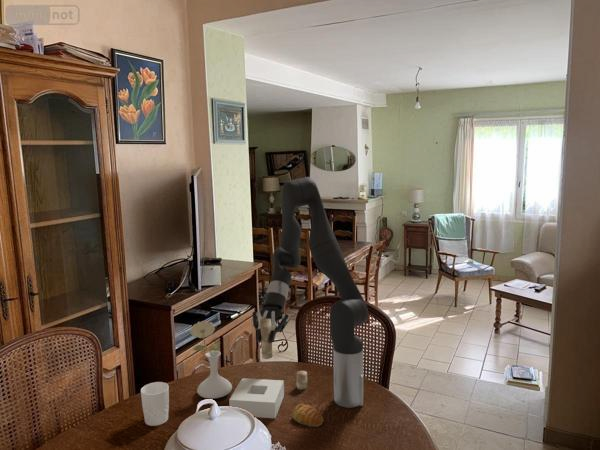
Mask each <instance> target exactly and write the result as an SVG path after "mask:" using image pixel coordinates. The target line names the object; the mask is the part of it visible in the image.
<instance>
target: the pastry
mask: <svg viewBox="0 0 600 450" xmlns="http://www.w3.org/2000/svg"><path fill="white" fill-rule="evenodd" d="M291 417H292V418H293V420H294V421H295V422H297V423H298V424H301V425H303V426H307V427H312V428H314V427H316V428H318V427H320V426H322V425H323V422H324V416H323V415H322V413H320V412H319V410H318V409H316V408H315V407H314V406H311V405H310V404H304V403H299V404H297V405H296V406H295V407H294V408H293V410H292V414H291Z"/></svg>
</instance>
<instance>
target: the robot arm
mask: <svg viewBox="0 0 600 450" xmlns="http://www.w3.org/2000/svg"><path fill="white" fill-rule="evenodd" d="M305 206H308V209H309V211H310V215H311V226H310V232H309V236H308V248H309V251H310V254H311V256H312V259H313V261H314V263H315V266H316V267H317V268H318V269H319V270H320V271H321V273H322V274H324V275H325V276H326V277H327V279H329V281H331V283H332V284H333V285H334V286H335V287H336V288H335V289H337V291H338V294H339V296H340V299H339V300H337V301H335V302H333V303H332V305H331V306H330V309H329V327H330V329H329V331H330V338H331V339H330V340H331V342H332V345H333V401H334V403H335V404H336V405H337V406H339V407H343V408H350V409H351V408H356V407H363V405H364V342H363V341H364V340H363V339H362V338H361V337H359V336H357V335H356V334H355V328H356V327H358V326H360V325H363V324H364V323H365V322H367V320H368V316H369V309H368V306H367V304H366V300H365V298H364V297H363V295H362V293H361V292H360V291H361V290H360V289H359V288H358V286H357V285H356V282H355V280H354V278H353V276H352V274H351V271H350V270H349V267H348V265H347V262H346V260H345V258H344V256H343V252H342V250H341V248H340V244H339V242H338V239H337V238H336V236H335V233H334V230H333V229H332V226H331V223H330V221H329V218H328V216H327V213H326V210H325V207H324V203H323V201H322V197H321V194H320V191H319V187H318V186H317V183H316V182H315V180H314V179H313V178H312V177H310V176H304V177H301V178H295V179H291V180H287V181H286V182H284V183H283V185H282V189H281V212H282V214H281V215H282V219H281V221H282V227H281V228H282V229H281V234H280V240H279V242H280V243H279V245H280V247H279V246H278V247H277V248H276V249H275V250H274V251H273V254H272V263H273V265H272V266H273V268H272V269H273V270H272V276H271V279H270V282H269V285H268V287H267V290H266V294H265V296H264V300H263V305H262V308H261V310H260V311H257V312H256V311H253V312H252V325H253V327H254V329H255V330H256V335H255V340H256V341H257V343H261V325H260V321H259V320H260V319H262V318H270V319H271V331H270V335H269V339H268V342H269V343H271V344H272V345H273V343H274V342H275V338H276V334H278V333H282V332H283V330H285V328H286V327H287V325H288V324H289V322H290V320H291V318H290V316H289V314H288V313H287V314H286V313H284V311H285V307H286V303H287V300H288V295H289V288H290V286H291V281H292V273H291V272H290V271H289V270H288V269H291V270H295V269H297V268H299V266H300V265H301V261H302V257H301V250H300V242H301V237H302V227H301V224H300V223H299V221H298V220H297V219H296V217H295V210H296V209H297V208H300V207H305ZM285 268H286V269H285ZM260 317H261V318H260ZM279 321H280V322H279Z"/></svg>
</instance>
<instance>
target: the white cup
mask: <svg viewBox="0 0 600 450" xmlns="http://www.w3.org/2000/svg"><path fill="white" fill-rule="evenodd" d="M169 387H170V386H169V384H168V383H167V382H163V381H155V382H150V383H148V384H147V383H146V384H145V385H144V386H143V387H141V388H140V395H141V397H140V398H141V404H142V405H141V406H142V412H143V416H144V418H143V419H144V423H145V424H146V425H147V426H151V427H157V426H160V425H163V424H164V423H166V422H167V421H168V420H169V410H170V407H169V406H170V389H169Z"/></svg>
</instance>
